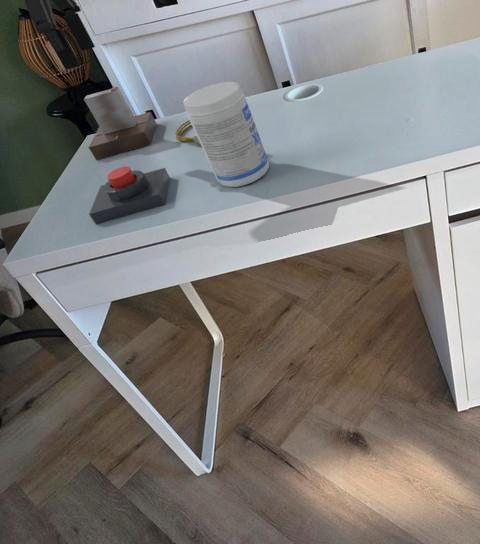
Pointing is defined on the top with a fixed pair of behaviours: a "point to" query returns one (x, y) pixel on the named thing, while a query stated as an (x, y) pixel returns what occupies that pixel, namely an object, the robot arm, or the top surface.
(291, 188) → the top surface
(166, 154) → the top surface
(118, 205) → the button block
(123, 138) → the base
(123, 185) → the red button
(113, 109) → the tap lever
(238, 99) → the supplement tub
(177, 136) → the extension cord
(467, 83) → the top surface
